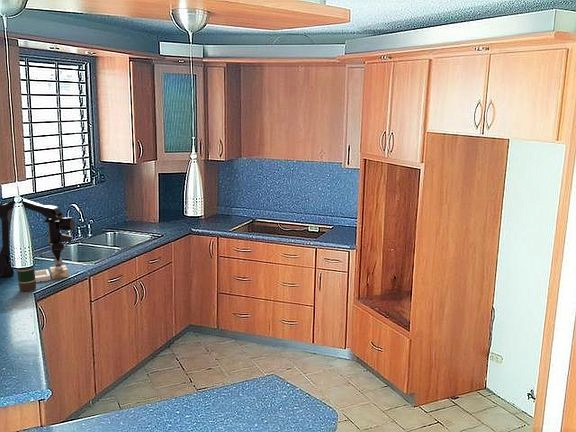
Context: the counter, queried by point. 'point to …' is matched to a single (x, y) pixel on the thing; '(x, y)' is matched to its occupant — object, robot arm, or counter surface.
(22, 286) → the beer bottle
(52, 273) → the hitch block
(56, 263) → the steel pin
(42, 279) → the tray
